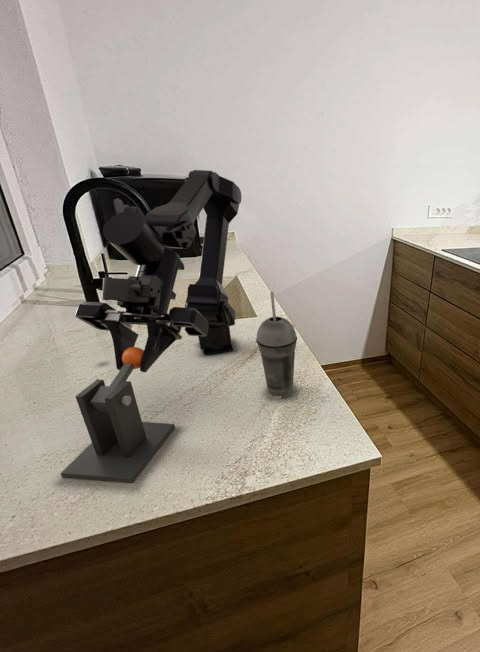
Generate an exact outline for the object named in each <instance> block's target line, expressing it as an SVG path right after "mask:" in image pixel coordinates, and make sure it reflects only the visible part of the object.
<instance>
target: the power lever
mask: <svg viewBox="0 0 480 652" xmlns="http://www.w3.org/2000/svg"><path fill="white" fill-rule="evenodd" d="M143 353H144V349H143V348H141V347H138V346H134V347H130V348H128V349H126V350H125V351H124V352H123V354H122V362H123V364H124V365H123V367H122V368H121V370H118V371H119V372H118V373H117V374H116V375H115V377H114V378H113V380H112V382H111V383H110V385H105V386H101V387H100V388H99V390H98V391H97V393H96V394H95V396H94V397H93V398H92V400H91V401H90V402H91V403H92V405H93V406H94V407H95V408H96V409H97V411H98V412H107V413H109V411H108V408H107V405H106V402H105V399H104V398H105V397H106V396H108V395H109V394H110V393H111V392H112V391H113V390H114V389H116V388H117V387H118V386H119V385H120V384H121V383H123V382H124V381H128V379H129V377H130V375H131V374H132V373H133V371H134V370H136V369H140V365H141V360H142V356H143Z"/></svg>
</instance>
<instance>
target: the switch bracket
mask: <svg viewBox="0 0 480 652" xmlns="http://www.w3.org/2000/svg"><path fill="white" fill-rule="evenodd" d="M101 386H106V383H105V380H104V379H99V378H98V379H95V380H94V381H93V382H91V383H90V384H89V385H88V386H87V387H85V388H84V389H82V390H81V391H80V392H79V393H77V394H76V395H75V400H76V403H77V405H78V408H79V411H80V414H81V416H82V419H83V422H84V424H85V428H86V430H87V433H88V435H89V438H90V441H91V443H90V444H88V445H87V446H86V447H85V448H84V450H83V451H81V453H79V454H78V455H77V456H76V457H75V458H74V459H73V460H72V461H71V462H70V463H69V464H68V465H67V466H66V467H65V468H64V469H63V470H62V471H61V472H60V476H61V478H62V479H71V480H73V479H74V480H85V481H86V480H87V481H88V480H89V481H99V482H112V483H114V482H115V483H127V484H134V483H135V481H136V480H137V479H138V477H139V476H140V474H141V473H142V472H143V471H144V469H145V468H146V467H147V465H148V464H149V463H150V462H151V460H152V459H153V458H154V456H155V455H156V454H157V452H158V451H159V450H160V448H161V447H162V446H163V445H164V444H165V442H166V441H167V440H168V438H169V437H170V435H171V434H172V433H173V432H174V430H175V429H176V426H175V424H174V423H166V422H152V421H143V420H142V417H141V416H142V415H141V413H140V410H139V405H138V402H137V399H136V395H135V392H134V388H133V387H134V386H133V384H132V381H131V380H130V381H129V380H126V381H124V382H123V383H121V384H120V385H119V386H118V387H117V388H116V389H114V390H113V391H112V392H111V393H110V394H109V395H108V396H106V397H105V398H104V399H105V402H106V405H107V408H108V411H109V413H107V412H98V411H97V409H96V408H95V407H94V406H93V405H92V403H91V402H90V401H91V400H92V398H93V397H94V396H95V394H96V393H97V391H98V390H99V388H100V387H101Z"/></svg>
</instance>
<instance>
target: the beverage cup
mask: <svg viewBox="0 0 480 652" xmlns="http://www.w3.org/2000/svg"><path fill="white" fill-rule="evenodd" d="M269 293H270V303H271V313H272V316H271V317H268V318H266V319H265V320H264V321H262V322H261V324H260V325H259V326H258V329H257V332H256V340H255V341H256V344H257V346H258V347H257V348H258V350H259V353H260V356H261V362H262V366H263V372H264V378H265V382H266V388H267V390H268V391H267V392H268V393H269V394H270V395H272V396H275V397H280V400H283V399H288V398H289V397H291V396H292V395H293V388H294V374H295V356H296V354H295V353H296V349H297V341H298V336H297V333H296V329H295V328H294V326H293V323H291V322H290V321H289V320H288V319H286V318H284V317H282V316H277V315H276V305H275V295H274V291H270V292H269Z"/></svg>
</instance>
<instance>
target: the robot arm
mask: <svg viewBox="0 0 480 652" xmlns="http://www.w3.org/2000/svg"><path fill="white" fill-rule="evenodd" d="M241 203H242V191H241V188H240V187H239V186H238V185H237V184H236V183H235V182H234V181H232V180H230V179H228V178H225V177H223V176H221V175H219V174H218V173H217V172H216V171H213V170H204V169H193V170H191V171H189V173H188V178H187V180H185V182H184V183H183V184H182V185H181V187H180V188H179V189H178V191H177V192H176V193H175V194H174V196H173V197H172V199H171V200H170V201H169V202H168V203H166V204H163V205H160V206H156V207H153V209H151V210H150V211H149V212H147V213H146V214H144V213H143V211H142V210H141V209H140V207H139V206H124V208H123V211H121V212H120V213H117V214H115V215H112V217H111V218H110V219H109V220H108V221H107V222H105V223H104V225H103V229H102V233H103V236H104V239H105V240H106V241H107V242H108V243H109V244H111V246H112V247H114V248H115V249H116V250H117V251H118V252H119V253H120V254H122V255H123V256H124V257H125V258H126V259H127V261H129V262H130V263H131V264H133V265H137V270H136V273H135V275H134V276H133V275H130V276H128V278H119V277H117V278H116V277H103V278H102V298H101V299H102V300H103V301H116V306H118V307H120V308H121V309H125V311H123V310H122V311H121V310H117V309H115V308H114V307H113V306H111V305H109V304H108V303H107V302H98V301H84V302H81V303H79V304H78V305H77V309H76V311H75V313H74V314H75V315H74V317H75V318H76V319H78V320H80V321H81V322H83V323H85V324H87V325H89V326H91V327H92V328H94V329H96V330H99V331H107V332H108V331H109V333H110V335H111V339H112V343H113V344H112V345H113V350H114V358H115V366H116V370H117V371H120V370H121V368H122V367H123V365H124V364H123V362H122V354H123V352H124V351H125V350H126V349H128V348H130V347H135V345H136V344H137V343H136V342H137V341H138V338H139V334H138V333H137V332H135V331H134V330H132V329H133V325H139V326H140V325H141V326H146V330H147V338H146V342H145V346H144V349H143V350H144V353H143V356H142V360H141V365H140V368H139V371H140V372H142V373H146V372H148V370H149V369H150V368H151V367H152V366H153V365H154V364H155V362H156V361H158V359H159V358H160V357H161V355H162V354H164V352H166V350H167V349H169V347H171V345H173V344H174V343H175V341H178V340H179V341H180V340H182V338H183V336H182V335H181V332H182V328H184V331H185V332H186V334H187V335H188V336H190V337H197V338H198V344H199V349H200V350H202V352H203V355H205V356H207V355H213V354H220V353H227V352H232V351H234V346H233V343H232V336H231V329H230V327H231V326H235V325H236V311H235V309H234V308H233V307H232V306H231V304H230V303H229V296H228V294H227V291H226V290H225V288H224V285H223V280H224V270H225V262H226V261H225V260H226V253H227V243H228V234H229V228H230V227H229V226H230V223H231V222H232V221H233V220H234V218H235V217H236V216H237V215H238V213H239V208H240V204H241ZM202 211H203V212H204V214H205V216H206V217H205V226H204V234H203V242H202V248H201V249H202V251H201V259H200V267H199V276H198V279H197V280H196V282H195V283H189V285H188V287H187V293H186V294H187V296H186V299H185V304H184V307H182V306H173V307H172V308H170V309H169V307H170V303H171V300H172V301H173V300H174V301H175V300H176V297H177V294H176V292H175V291H174V287H175V283H176V279H177V275H178V271H184V270H185V264H184V262H183V260H182V259H181V257H180V254H178V253H177V252H176V251H174V249H182V250H183V249H186V250H187V249H189V248H190V247H191V246H192V245H193V242H194V239H195V236H196V234H197V229H196V227H195V221H196V219H197V218H198V216H199V215H200V214H201V212H202ZM168 311H169V312H168Z"/></svg>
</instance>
